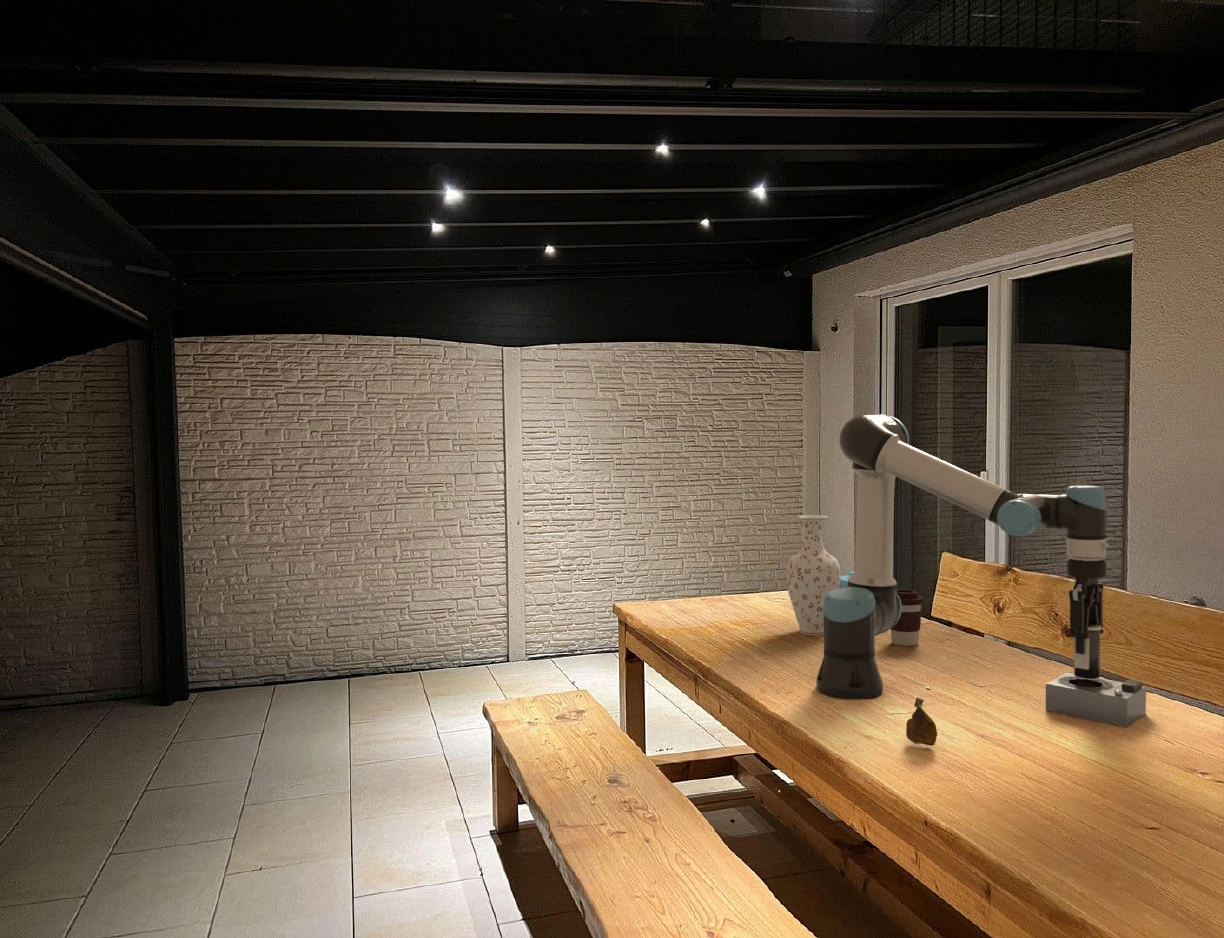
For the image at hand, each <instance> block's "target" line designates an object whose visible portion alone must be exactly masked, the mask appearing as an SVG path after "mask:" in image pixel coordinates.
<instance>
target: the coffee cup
mask: <svg viewBox="0 0 1224 938" xmlns="http://www.w3.org/2000/svg"><path fill="white" fill-rule="evenodd" d="M896 593H897V595H898V596H899V597H900V600H901V605H902V611H901V615H900V618H899V620H898V621H897V623H896V624H895V625H894V626H893V627H892V628H891V629H890V636H891V637H890V638H891V639H890V640H891V643H892V644H893V645H895V646H900V647H914V646H917V645H918V644H919V639H920V631H921V624H922V622H921V621H922V605H923V604H924V597H923V596H921V595H919V592H918V591H917V590H914V589H906V588H905V589H904V588H903V589H896Z"/></svg>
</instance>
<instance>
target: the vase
mask: <svg viewBox="0 0 1224 938" xmlns="http://www.w3.org/2000/svg"><path fill="white" fill-rule="evenodd" d="M797 518H798V519H799V520H801V522H802V525H803V531H804V541H803V544H802V548H801V550H800V551H799V552H798V553H796V554H795V555H793V556H792V557H790V559H788V562H787V566H786V567H787V568H786V573H785V574H786V584H787V592H788V595H789V599H790V601H791V605H792V608H793V611H794V615H795V617H796V620H797V624H798V628H799V633H801V634H803V635H806V636H824V626H823V605H824V597H825V595H826V594H827V593H828V592H829V591H831V590H834V589H838V588H839V589H840V578H841V576H842V574H841V566H840V562H839V561H838V559H837V558H836V557H835V556H833V555H831V553H829V552H828V551H827V550H826V548H825V547H824V543H823V537H822V536H823V535H822V534H823V533H822V532H823V528H824V527H823V526H824V523H825V521H826V519H828V518H829V516H828V515H817V514H814V515H813V514H812V515H811V514H809V515H808V514H807V515H799V516H797Z"/></svg>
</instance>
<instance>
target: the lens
mask: <svg viewBox="0 0 1224 938" xmlns="http://www.w3.org/2000/svg"><path fill="white" fill-rule="evenodd" d="M1100 630H1101V625H1099V624H1095V623H1088V633H1087V638H1089V669H1088V670H1087V669H1081V668H1075V667H1074V666H1073V674H1074V675H1075V676H1077V677H1081V678H1088V679H1096V678H1101V633H1100Z"/></svg>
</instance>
